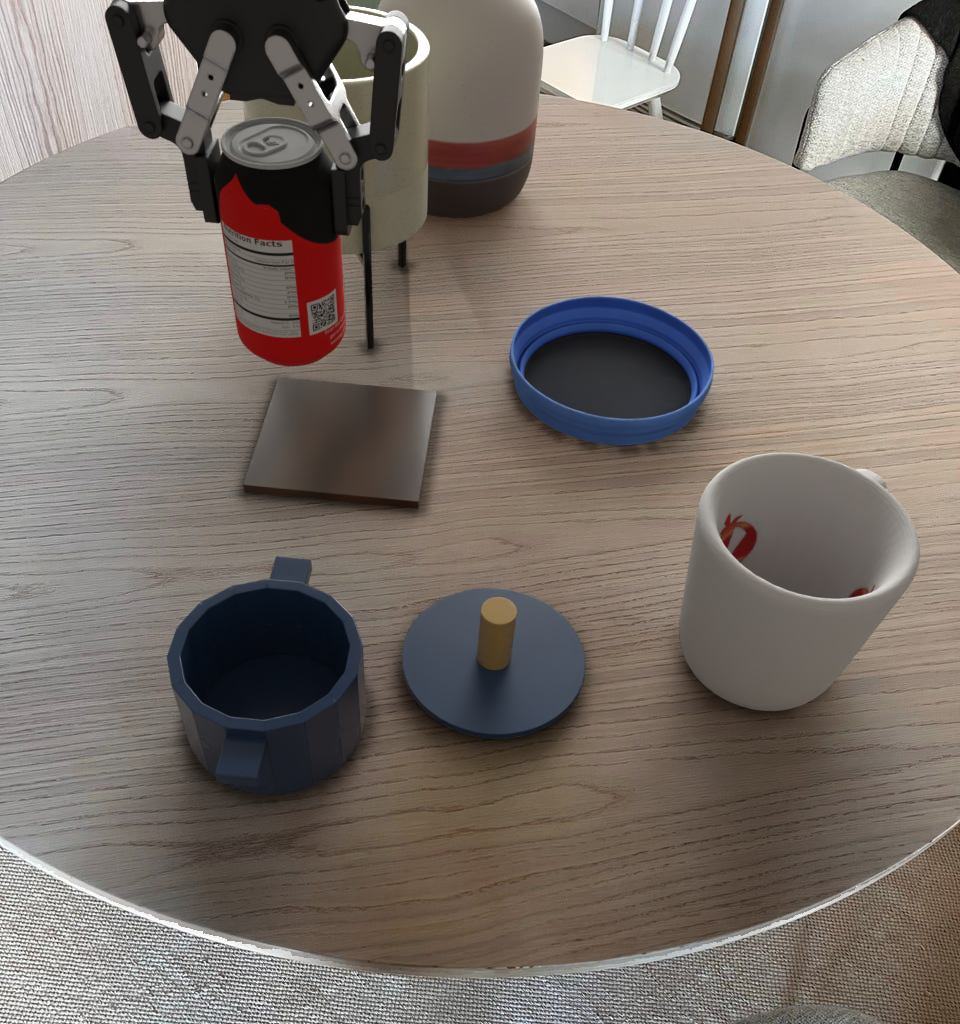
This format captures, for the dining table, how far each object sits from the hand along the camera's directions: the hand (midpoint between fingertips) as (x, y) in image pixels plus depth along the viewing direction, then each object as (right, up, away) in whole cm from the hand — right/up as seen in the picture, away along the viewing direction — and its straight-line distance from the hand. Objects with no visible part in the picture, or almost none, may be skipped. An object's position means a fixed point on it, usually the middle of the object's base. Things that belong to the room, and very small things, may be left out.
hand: (280, 220), depth 55 cm
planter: (-2, +11, +44) cm, 45 cm away
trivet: (-1, -6, +31) cm, 31 cm away
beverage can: (0, -5, +6) cm, 8 cm away
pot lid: (+12, -24, +16) cm, 31 cm away
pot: (-3, -28, +13) cm, 31 cm away
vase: (+8, +27, +58) cm, 64 cm away
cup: (+32, -23, +20) cm, 44 cm away
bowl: (+22, 0, +38) cm, 44 cm away
